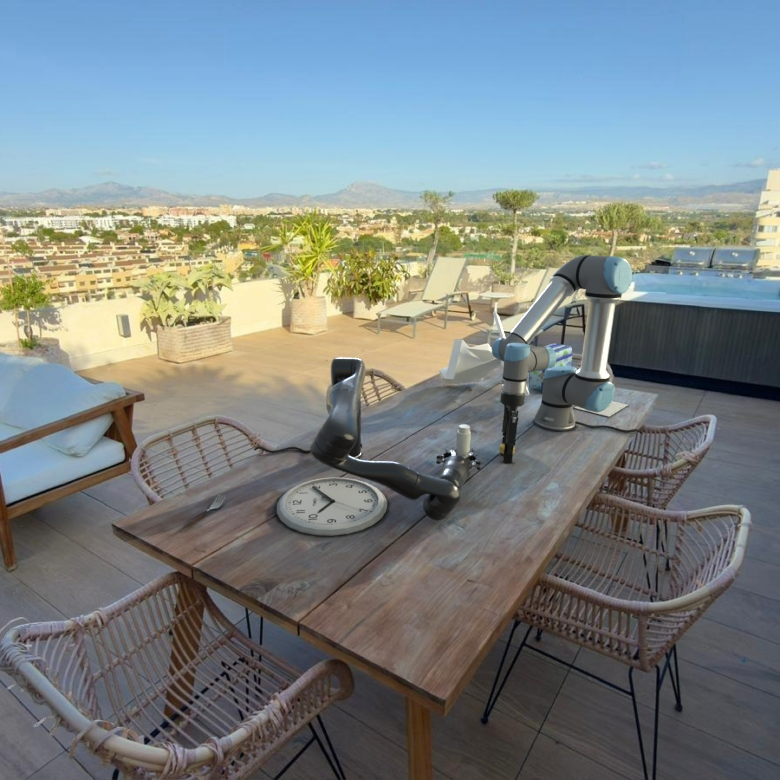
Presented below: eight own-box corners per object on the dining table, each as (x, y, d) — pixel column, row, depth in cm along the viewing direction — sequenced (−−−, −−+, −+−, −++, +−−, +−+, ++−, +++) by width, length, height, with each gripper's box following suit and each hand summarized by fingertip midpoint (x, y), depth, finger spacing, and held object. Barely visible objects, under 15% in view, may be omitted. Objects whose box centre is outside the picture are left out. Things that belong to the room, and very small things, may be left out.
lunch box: (544, 395, 239) (549, 351, 233) (524, 390, 247) (528, 347, 240) (571, 384, 257) (577, 343, 251) (552, 380, 264) (556, 339, 258)
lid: (501, 447, 176) (502, 442, 175) (516, 450, 174) (516, 445, 173) (497, 452, 172) (497, 446, 171) (511, 455, 170) (512, 450, 169)
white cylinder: (462, 476, 160) (465, 429, 156) (451, 472, 163) (454, 426, 159) (470, 472, 163) (474, 426, 159) (460, 468, 166) (462, 422, 161)
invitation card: (608, 416, 214) (573, 407, 224) (608, 416, 214) (573, 408, 224) (628, 404, 229) (594, 396, 238) (628, 405, 229) (594, 397, 238)
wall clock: (392, 527, 129) (268, 531, 127) (391, 533, 130) (269, 537, 127) (383, 473, 158) (282, 475, 155) (383, 478, 158) (282, 480, 156)
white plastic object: (461, 429, 252) (437, 405, 227) (444, 352, 274) (420, 323, 250) (535, 404, 240) (518, 377, 215) (510, 326, 262) (492, 293, 237)
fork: (178, 529, 130) (177, 522, 129) (219, 499, 144) (218, 493, 144) (187, 531, 129) (186, 524, 129) (227, 501, 143) (226, 494, 143)
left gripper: (479, 464, 145) (487, 441, 161) (429, 457, 149) (442, 435, 165) (477, 489, 147) (486, 464, 163) (428, 481, 151) (441, 457, 167)
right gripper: (497, 383, 176) (491, 447, 182) (505, 400, 158) (498, 469, 165) (520, 384, 175) (513, 448, 182) (530, 401, 158) (522, 471, 165)
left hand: (463, 450), depth 164 cm, fingers closed on white cylinder, 4 cm apart
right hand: (506, 458), depth 173 cm, fingers closed on lid, 5 cm apart
